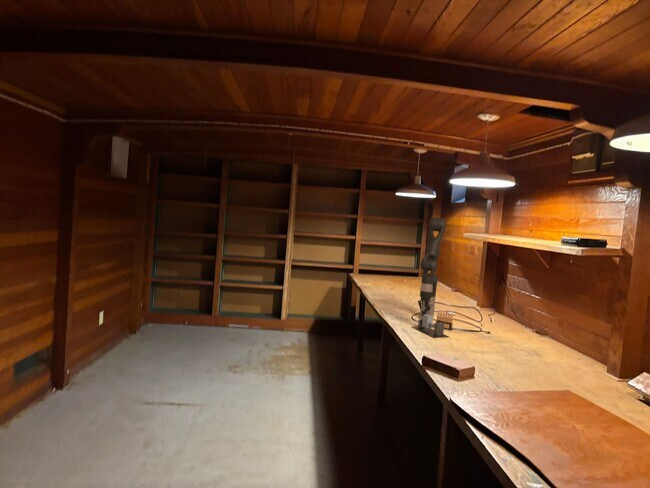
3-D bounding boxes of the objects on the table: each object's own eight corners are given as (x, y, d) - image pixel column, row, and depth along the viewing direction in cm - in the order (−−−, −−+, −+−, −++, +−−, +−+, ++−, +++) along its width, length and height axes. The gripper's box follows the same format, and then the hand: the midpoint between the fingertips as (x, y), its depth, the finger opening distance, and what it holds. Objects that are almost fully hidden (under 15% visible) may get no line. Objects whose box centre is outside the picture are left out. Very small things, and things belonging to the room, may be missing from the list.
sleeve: (422, 325, 259) (423, 314, 259) (427, 325, 261) (428, 314, 260) (426, 328, 255) (428, 316, 254) (432, 327, 256) (433, 316, 256)
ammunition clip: (452, 330, 265) (454, 312, 264) (451, 330, 263) (453, 312, 262) (436, 326, 270) (438, 309, 270) (435, 327, 269) (437, 309, 268)
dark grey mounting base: (411, 327, 263) (412, 315, 263) (426, 326, 268) (427, 315, 268) (433, 337, 242) (434, 324, 242) (449, 337, 247) (450, 324, 246)
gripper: (415, 288, 265) (412, 314, 266) (427, 292, 253) (425, 319, 254) (424, 288, 268) (422, 314, 269) (437, 292, 256) (434, 319, 257)
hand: (423, 316), depth 261 cm, fingers closed
